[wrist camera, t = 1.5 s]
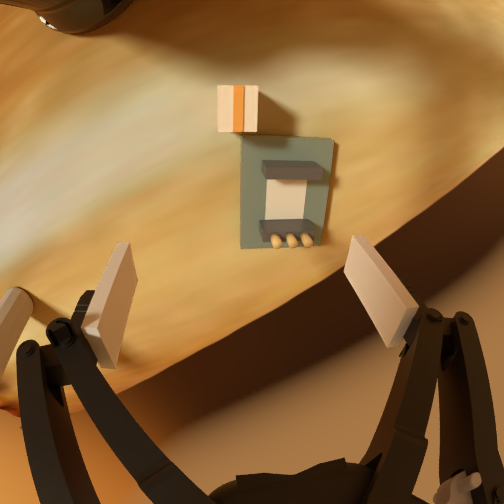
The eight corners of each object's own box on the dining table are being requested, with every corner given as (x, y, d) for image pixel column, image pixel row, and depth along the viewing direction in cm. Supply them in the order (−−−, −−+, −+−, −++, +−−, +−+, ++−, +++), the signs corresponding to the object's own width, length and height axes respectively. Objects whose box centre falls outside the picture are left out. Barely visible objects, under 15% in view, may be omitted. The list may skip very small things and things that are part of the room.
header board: (241, 135, 35) (247, 145, 29) (330, 138, 37) (351, 150, 31) (239, 243, 44) (244, 271, 38) (317, 240, 45) (332, 266, 39)
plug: (217, 86, 32) (218, 85, 26) (250, 86, 32) (258, 85, 26) (217, 124, 34) (218, 132, 28) (249, 123, 35) (257, 132, 29)
